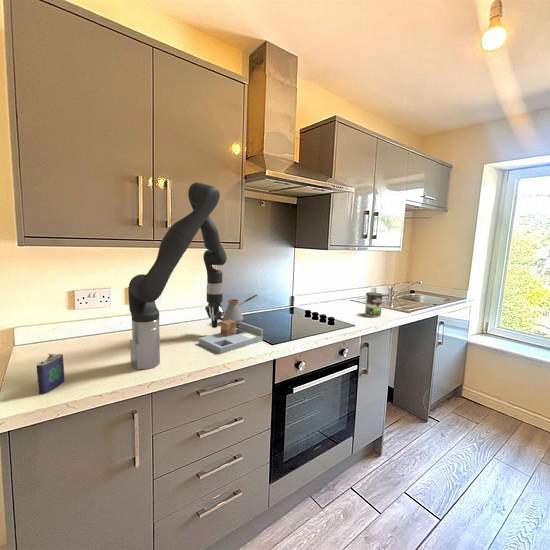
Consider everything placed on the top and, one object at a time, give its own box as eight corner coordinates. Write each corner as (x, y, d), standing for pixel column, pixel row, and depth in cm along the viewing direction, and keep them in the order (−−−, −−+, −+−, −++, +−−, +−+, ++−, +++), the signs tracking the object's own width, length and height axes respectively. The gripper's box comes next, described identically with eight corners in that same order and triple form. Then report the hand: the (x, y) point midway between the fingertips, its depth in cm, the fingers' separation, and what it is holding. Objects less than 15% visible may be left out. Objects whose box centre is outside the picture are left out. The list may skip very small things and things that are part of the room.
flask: (59, 379, 98) (57, 348, 97) (68, 380, 98) (66, 348, 97) (35, 394, 89) (33, 359, 88) (45, 394, 89) (43, 360, 88)
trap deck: (220, 354, 124) (220, 341, 123) (198, 343, 134) (198, 331, 134) (262, 340, 141) (262, 329, 140) (240, 332, 152) (240, 321, 151)
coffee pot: (227, 327, 159) (228, 299, 157) (219, 321, 169) (219, 295, 167) (262, 322, 171) (263, 296, 169) (252, 317, 181) (252, 292, 179)
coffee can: (384, 316, 192) (386, 295, 191) (369, 317, 190) (371, 295, 188) (375, 312, 202) (377, 292, 201) (361, 313, 200) (363, 292, 198)
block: (227, 336, 137) (227, 323, 137) (220, 333, 141) (220, 321, 140) (235, 334, 141) (236, 321, 140) (229, 331, 144) (229, 319, 144)
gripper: (229, 293, 141) (229, 329, 144) (213, 289, 150) (212, 323, 153) (216, 295, 136) (216, 332, 138) (200, 290, 145) (199, 325, 147)
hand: (214, 327), depth 145 cm, fingers closed
